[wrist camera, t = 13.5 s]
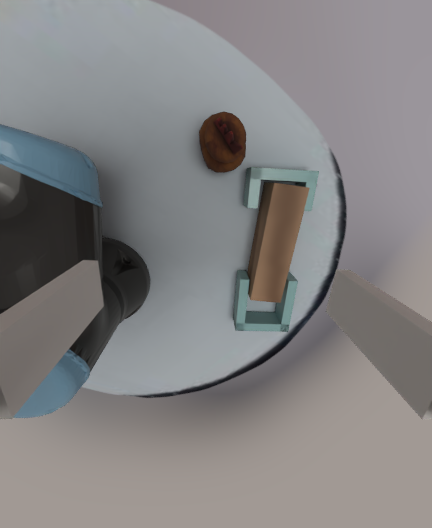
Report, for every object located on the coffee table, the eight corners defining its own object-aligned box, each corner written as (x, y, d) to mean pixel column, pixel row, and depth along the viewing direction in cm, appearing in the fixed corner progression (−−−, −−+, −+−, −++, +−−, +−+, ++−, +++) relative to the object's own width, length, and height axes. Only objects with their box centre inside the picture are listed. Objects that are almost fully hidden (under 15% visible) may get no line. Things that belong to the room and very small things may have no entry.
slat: (244, 284, 43) (250, 299, 37) (263, 182, 37) (274, 182, 31) (270, 286, 43) (280, 302, 38) (294, 186, 37) (309, 187, 31)
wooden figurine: (244, 167, 36) (268, 159, 21) (208, 177, 36) (208, 176, 22) (234, 118, 33) (254, 73, 19) (195, 129, 34) (187, 93, 19)
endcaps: (233, 317, 45) (235, 330, 41) (246, 168, 36) (251, 167, 32) (281, 318, 45) (288, 331, 42) (307, 172, 36) (318, 171, 32)
